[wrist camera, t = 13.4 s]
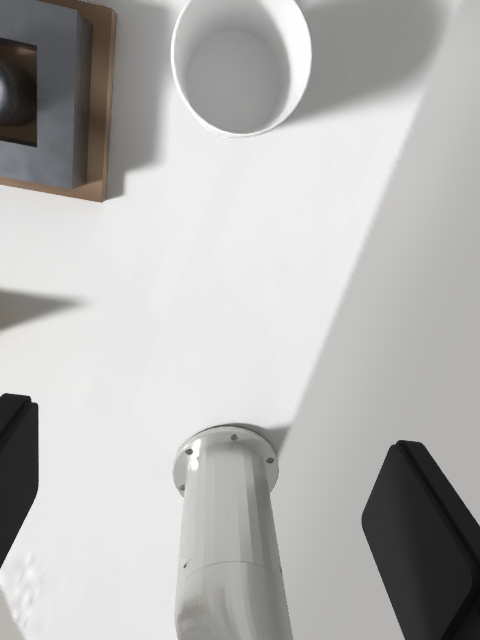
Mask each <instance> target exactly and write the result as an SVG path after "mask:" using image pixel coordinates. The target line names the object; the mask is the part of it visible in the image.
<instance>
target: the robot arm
mask: <svg viewBox="0 0 480 640" xmlns="http://www.w3.org/2000/svg"><path fill="white" fill-rule="evenodd" d="M278 472H279V469H278V461H277V457H276V454H275V452H274V450H273V448H272V446H271V445H270V444H269V443H268V441H266V440H265V439H264V438H263V437H261V436H260V435H258V434H256V433H255V432H253V431H250V430H247V429H244V428H239V427H217V428H211V429H208V430H205V431H202V432H200V433H198V434H196V435H194V436H193V437H192V438H190V439H189V440H188V441H186V442H185V443H184V445H183V446H182V447H181V448H180V449H179V451H178V453H177V455H176V457H175V461H174V466H173V480H174V483H175V486H176V488H177V490H178V491H179V493H180V494H181V495H182V496H183V497H184V504H183V516H182V528H181V540H180V552H179V564H178V576H177V589H176V600H175V627H176V633H177V637H178V640H293V635H292V630H291V624H290V618H289V612H288V606H287V601H286V595H285V589H284V582H283V575H282V569H281V563H280V556H279V551H278V544H277V538H276V531H275V525H274V519H273V513H272V507H271V500H270V494H269V493H270V492H271V490H272V489H273V488H274V486H275V483H276V481H277V478H278ZM38 484H39V463H38V404H37V403H33V402H31V398H30V396H25V395H17V394H8V393H5V394H3V395H2V396H1V397H0V568H1V566H2V564H3V562H4V560H5V558H6V556H7V554H8V552H9V550H10V548H11V546H12V544H13V542H14V540H15V538H16V536H17V534H18V532H19V530H20V528H21V526H22V524H23V522H24V520H25V518H26V516H27V514H28V512H29V510H30V508H31V506H32V504H33V502H34V500H35V497H36V494H37V491H38ZM362 528H363V531H364V533H365V536H366V539H367V541H368V544H369V546H370V549H371V552H372V554H373V557H374V559H375V562H376V565H377V567H378V570H379V573H380V575H381V578H382V580H383V583H384V585H385V588H386V591H387V593H388V596H389V599H390V601H391V604H392V607H393V609H394V611H395V614H396V617H397V619H398V622H399V625H400V627H401V630H402V632H403V635H404V638H405V640H480V526H479V525H478V523H477V522H476V520H475V519H474V518H473V516H472V514H471V513H470V511H469V510H468V509H467V507H466V506H465V504H464V503H463V501H462V500H461V498H460V497H459V495H458V494H457V493H456V491H455V490H454V488H453V487H452V485H451V484H450V482H449V481H448V480H447V478H446V477H445V475H444V474H443V472H442V471H441V469H440V468H439V466H438V465H437V463H436V462H435V461H434V459H433V458H432V456H431V455H430V453H429V452H428V451H427V449H426V448H425V446H424V445H423V444H422V443H420V442H414V441H405V440H399V441H398V442H397V443H396V444H395V445H392V446H391V447H390V448H389V451H388V453H387V456H386V458H385V460H384V463H383V465H382V468H381V470H380V473H379V475H378V477H377V480H376V482H375V485H374V487H373V490H372V492H371V494H370V497H369V499H368V502H367V504H366V506H365V509H364V511H363V514H362Z"/></svg>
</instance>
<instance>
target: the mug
mask: <svg viewBox="0 0 480 640" xmlns="http://www.w3.org/2000/svg"><path fill="white" fill-rule="evenodd" d="M171 66H172V72H173V77H174V81H175V84H176V86H177V89H178V92H179V94H180V96H181V98H182V100H183V101H184V103H185V105H186V106H187V108H188V109H189V110H190V112H191V113H192V114H193V115H194V117H195V118H196V119H197V120H198V121H199V122H200V124H201V125H202V126H204V127H205V128H206V129H207V130H209V131H210V132H212V133H214V134H216V135H218V136H222V137H225V138H247V137H253V136H258V135H261V134H264V133H266V132H269V131H271V130H273V129H274V128H276V127H277V126H279V125H280V124H282V123H283V122H284V121H285V120H286V119H287V118H288V117H289V116H290V115H291V114H292V113H293V112H294V110H295V109H296V107H297V106H298V104H299V103H300V101H301V99H302V97H303V95H304V93H305V91H306V88H307V86H308V82H309V78H310V75H311V68H312V41H311V36H310V32H309V28H308V25H307V22H306V19H305V17H304V15H303V13H302V11H301V9H300V7H299V6H298V4H297V3H296V1H295V0H187V2H186V3H185V5H184V7H183V8H182V10H181V12H180V14H179V16H178V19H177V21H176V24H175V27H174V31H173V36H172V42H171Z"/></svg>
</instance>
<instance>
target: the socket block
mask: <svg viewBox="0 0 480 640" xmlns="http://www.w3.org/2000/svg"><path fill="white" fill-rule="evenodd" d="M92 43H93V25H92V24H91V23H90V22H89V21H88V20H87V19H86V18H85V17H84V16H83V15H82V14H81V13H80V12H79V11H77V10H75V9H71V8H67V7H62V6H58V5H54V4H50V3H45V2H41V1H37V0H0V44H3V45H7V46H12V47H16V48H21V49H25V50H30V51H35V52H37V143H34V142H29V141H24V140H19V139H13V138H8V137H3V136H0V176H1V177H6V178H12V179H17V180H23V181H28V182H34V183H39V184H45V185H50V186H56V187H61V188H67V189H74V188H77V187H80V186H83V185H86V184H87V164H88V140H89V115H90V91H91V67H92Z"/></svg>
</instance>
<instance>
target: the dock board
mask: <svg viewBox="0 0 480 640" xmlns="http://www.w3.org/2000/svg"><path fill="white" fill-rule="evenodd" d="M37 1H41V2H45V3H50V4H54V5H58V6H62V7H67V8H71V9H75V10H77V11H79V12H80V13H81V14H82V15H83V16H84V17H85V18H86V19H87V20H88V21H89V22H90V23H91V24H92V25H93V43H92V67H91V91H90V115H89V140H88V164H87V184H86V185H83V186H80V187H77V188H74V189H67V188H61V187H56V186H50V185H45V184H39V183H34V182H28V181H23V180H17V179H12V178H6V177H1V176H0V185H6V186H12V187H17V188H23V189H28V190H34V191H40V192H45V193H51V194H56V195H62V196H67V197H73V198H79V199H84V200H90V201H95V202H101V203H102V202H103V201H105V200H106V186H107V169H108V153H109V136H110V119H111V102H112V85H113V68H114V52H115V35H116V18H117V14H116V13H115V12H114V10H113V9H111V8H107V7H103V6H99V5H94V4H90V3H86V2H82V1H78V0H37ZM0 58H1V59H4V60H6V61H9V62H12V63H15V64H17V65H19V66H21V67H22V68H24V69H25V70H26V71H28V72H29V74H30V75H31V76H32V77H33V78H34V80H35V82H36V84H37V52H35V51H30V50H25V49H21V48H16V47H12V46H7V45H3V44H0ZM0 136H3V137H8V138H13V139H19V140H24V141H29V142H34V143H37V116H36V118H35V119H34V120H33V121H32V122H31V123H29V124H27V125H24V126H7V125H0Z"/></svg>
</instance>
